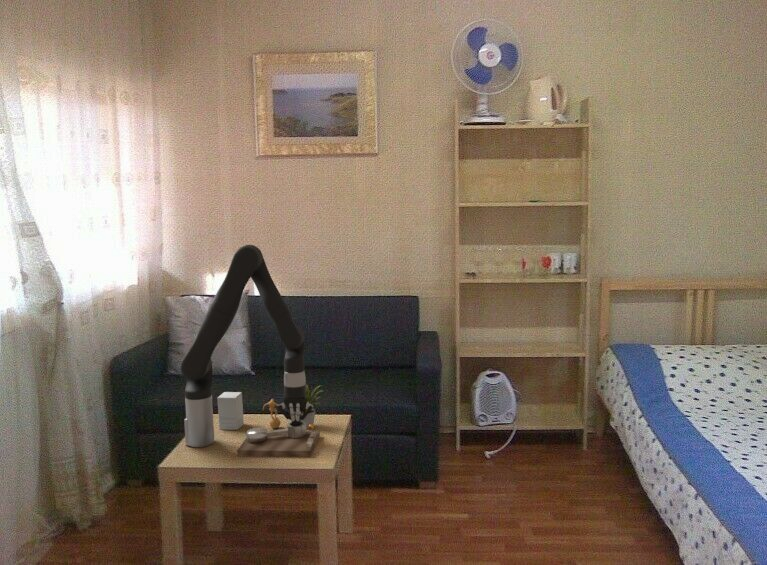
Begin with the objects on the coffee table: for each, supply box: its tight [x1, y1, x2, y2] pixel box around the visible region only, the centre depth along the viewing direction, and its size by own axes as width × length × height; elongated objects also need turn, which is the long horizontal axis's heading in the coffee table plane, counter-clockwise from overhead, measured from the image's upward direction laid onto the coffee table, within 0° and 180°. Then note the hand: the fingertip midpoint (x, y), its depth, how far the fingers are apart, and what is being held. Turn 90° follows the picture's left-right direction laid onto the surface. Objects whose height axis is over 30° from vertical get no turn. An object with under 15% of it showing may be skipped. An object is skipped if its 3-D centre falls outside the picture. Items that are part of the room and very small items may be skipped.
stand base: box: [236, 430, 321, 458], centre depth 249 cm, size 25×19×3 cm
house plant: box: [300, 384, 323, 430], centre depth 267 cm, size 14×14×16 cm
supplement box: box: [216, 391, 245, 431], centre depth 269 cm, size 7×7×13 cm
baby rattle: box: [246, 420, 314, 443], centre depth 251 cm, size 24×7×4 cm, turn 107°
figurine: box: [262, 398, 281, 429], centre depth 265 cm, size 8×6×12 cm
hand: (296, 430), depth 253 cm, fingers closed
